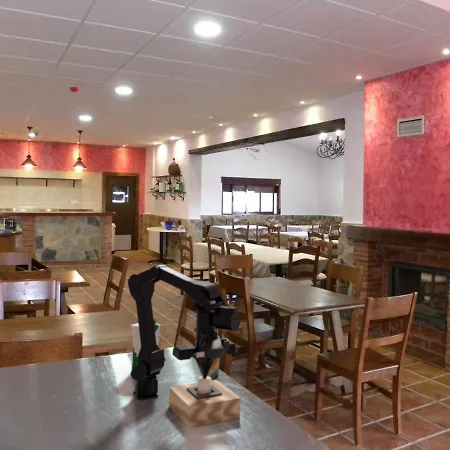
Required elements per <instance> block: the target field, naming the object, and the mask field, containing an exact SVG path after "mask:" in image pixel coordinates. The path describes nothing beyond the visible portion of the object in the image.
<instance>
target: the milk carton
mask: <svg viewBox="0 0 450 450" xmlns="http://www.w3.org/2000/svg"><path fill="white" fill-rule="evenodd" d="M153 319H154V328H155V336H156V343H157V345H158V346H159V335H160V331H161V330H160V329H161V323H160V324H159V323H157V320H156V319H155V318H153ZM130 328H131V332H132V359H131V360H132V361H131V371H132V370H133V369H134V368H135V367H136V366H137V362H138V354H139V351H140V348H141V342H140V333H139V325H138V322H137V323H133V324H130ZM131 371H130V372H131Z"/></svg>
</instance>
